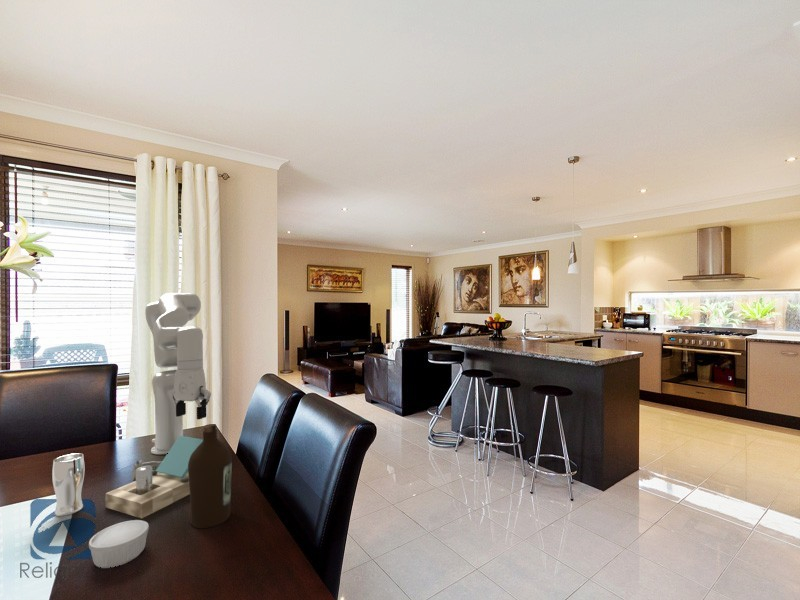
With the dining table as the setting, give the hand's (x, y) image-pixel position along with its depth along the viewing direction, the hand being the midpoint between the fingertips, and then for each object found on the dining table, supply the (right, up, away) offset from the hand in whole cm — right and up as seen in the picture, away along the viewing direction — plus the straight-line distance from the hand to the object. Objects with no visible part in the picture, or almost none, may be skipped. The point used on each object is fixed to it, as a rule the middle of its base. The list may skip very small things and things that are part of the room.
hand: (191, 416), depth 128 cm
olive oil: (+18, -20, -24) cm, 36 cm away
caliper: (-14, -22, +9) cm, 28 cm away
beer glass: (-25, -21, -18) cm, 37 cm away
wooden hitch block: (-4, -21, -10) cm, 23 cm away
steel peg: (-6, -21, -14) cm, 26 cm away
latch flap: (-1, -12, -3) cm, 12 cm away
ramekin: (+4, -21, -38) cm, 44 cm away
